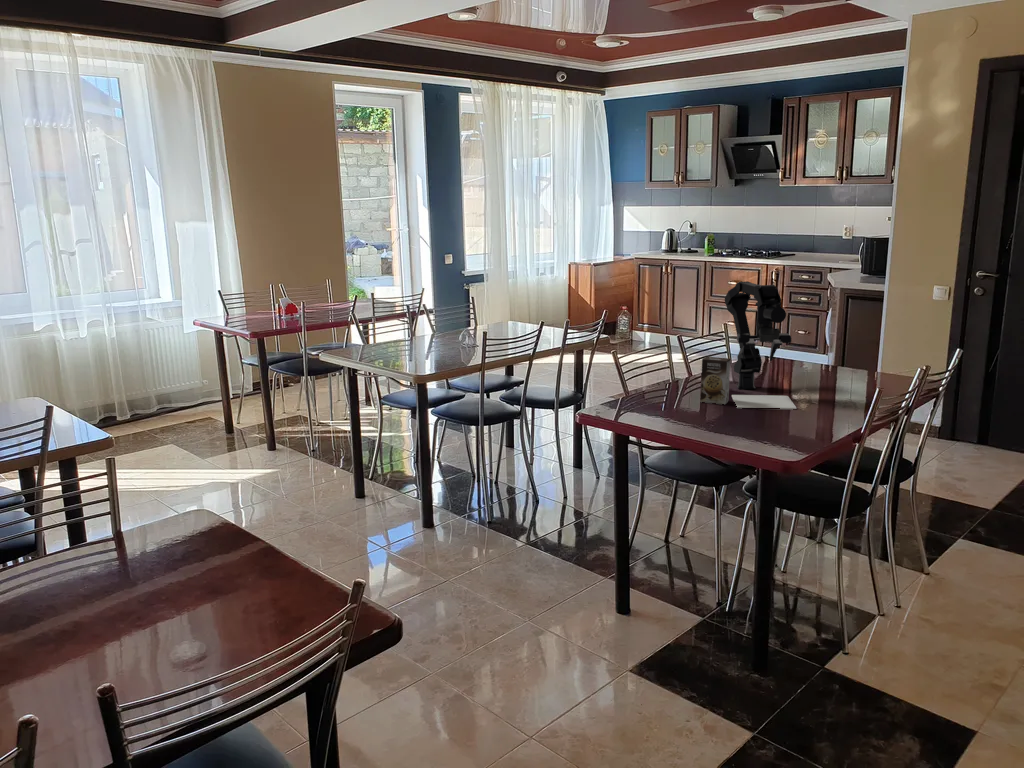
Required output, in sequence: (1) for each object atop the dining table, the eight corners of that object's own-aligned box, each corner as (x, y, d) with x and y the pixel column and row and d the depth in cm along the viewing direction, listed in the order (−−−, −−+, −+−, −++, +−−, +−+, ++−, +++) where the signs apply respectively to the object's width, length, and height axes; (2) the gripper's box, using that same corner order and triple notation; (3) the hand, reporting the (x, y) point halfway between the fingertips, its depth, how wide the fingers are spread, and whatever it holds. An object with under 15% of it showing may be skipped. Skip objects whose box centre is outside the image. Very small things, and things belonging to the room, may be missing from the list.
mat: (731, 396, 295) (731, 394, 295) (787, 397, 292) (787, 395, 291) (737, 408, 277) (737, 406, 277) (796, 409, 274) (796, 407, 274)
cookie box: (699, 402, 287) (701, 359, 283) (704, 398, 292) (705, 356, 289) (725, 405, 282) (726, 360, 279) (729, 401, 288) (730, 357, 284)
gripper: (741, 322, 283) (739, 365, 287) (795, 322, 280) (792, 365, 284) (737, 318, 294) (735, 359, 298) (789, 318, 291) (787, 359, 294)
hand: (762, 361), depth 293 cm, fingers open, 5 cm apart
